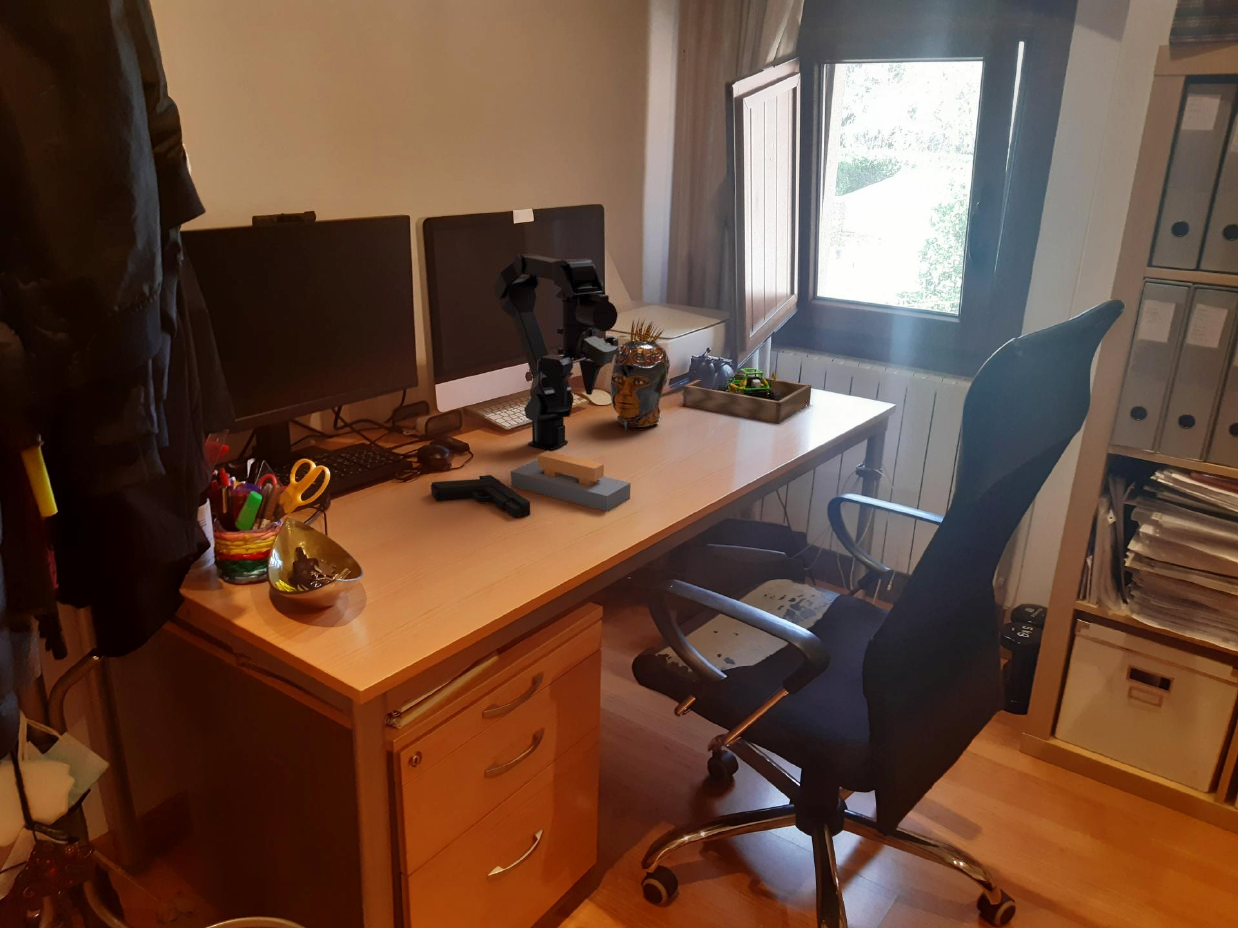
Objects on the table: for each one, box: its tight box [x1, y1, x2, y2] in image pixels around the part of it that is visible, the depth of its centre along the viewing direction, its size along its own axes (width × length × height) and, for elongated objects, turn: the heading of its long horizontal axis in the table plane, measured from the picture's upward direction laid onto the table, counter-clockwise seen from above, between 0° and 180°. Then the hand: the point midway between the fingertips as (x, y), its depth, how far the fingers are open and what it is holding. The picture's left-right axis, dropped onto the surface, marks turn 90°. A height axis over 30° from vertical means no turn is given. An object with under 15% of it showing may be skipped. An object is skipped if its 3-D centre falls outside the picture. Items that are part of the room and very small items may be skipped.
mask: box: [609, 318, 671, 433], centre depth 211 cm, size 12×21×25 cm, turn 157°
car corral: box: [682, 372, 812, 424], centre depth 231 cm, size 26×20×5 cm
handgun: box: [430, 474, 531, 518], centre depth 166 cm, size 3×19×12 cm
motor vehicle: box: [718, 367, 781, 406], centre depth 229 cm, size 12×19×11 cm, turn 13°
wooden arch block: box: [537, 450, 605, 486], centre depth 172 cm, size 13×3×6 cm, turn 58°
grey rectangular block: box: [510, 459, 631, 512], centre depth 173 cm, size 22×8×3 cm, turn 58°
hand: (576, 399), depth 186 cm, fingers open, 9 cm apart
